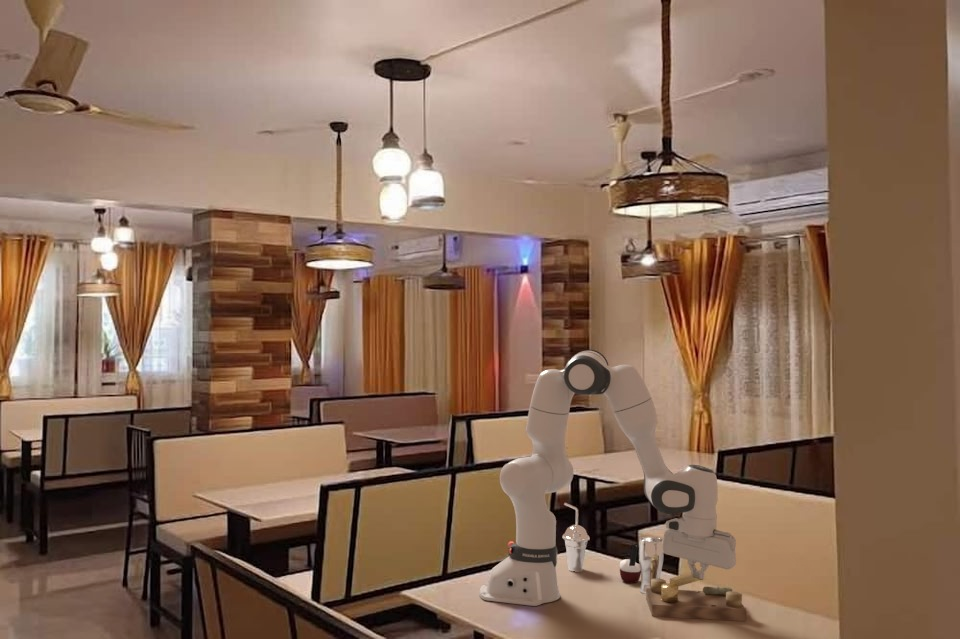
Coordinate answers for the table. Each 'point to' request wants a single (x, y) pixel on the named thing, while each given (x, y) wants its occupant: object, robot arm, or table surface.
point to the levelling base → (697, 603)
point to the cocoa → (630, 567)
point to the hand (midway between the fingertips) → (697, 577)
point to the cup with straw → (575, 544)
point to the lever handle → (675, 587)
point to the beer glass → (650, 560)
